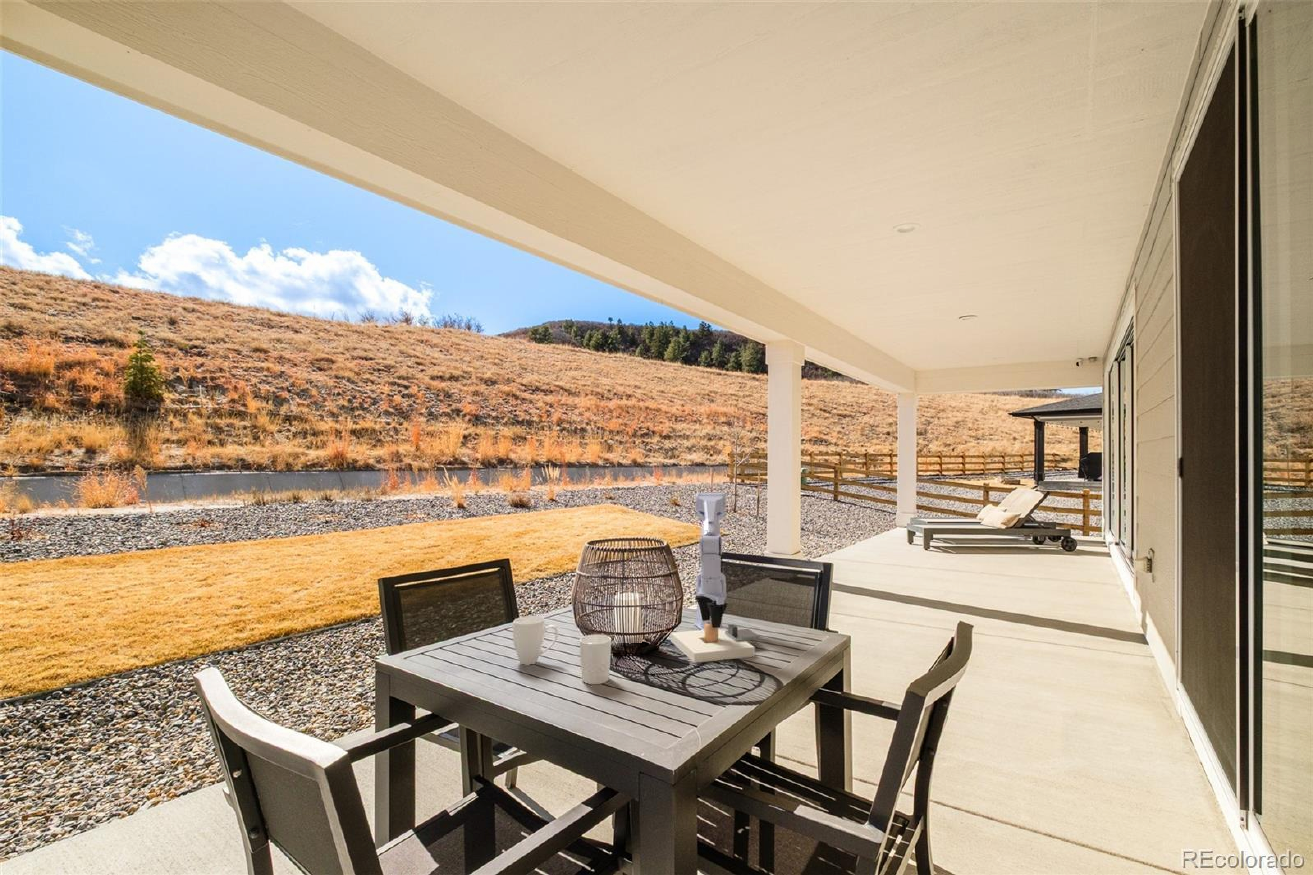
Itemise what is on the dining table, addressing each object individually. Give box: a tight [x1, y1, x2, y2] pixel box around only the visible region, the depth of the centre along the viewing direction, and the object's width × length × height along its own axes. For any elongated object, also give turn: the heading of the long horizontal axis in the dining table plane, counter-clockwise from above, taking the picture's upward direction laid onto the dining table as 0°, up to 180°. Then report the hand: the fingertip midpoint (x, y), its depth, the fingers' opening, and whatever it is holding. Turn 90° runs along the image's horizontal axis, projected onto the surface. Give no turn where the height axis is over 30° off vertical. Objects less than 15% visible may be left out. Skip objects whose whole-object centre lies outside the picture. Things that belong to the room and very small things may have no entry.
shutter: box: [725, 624, 761, 641], centre depth 175 cm, size 8×8×3 cm
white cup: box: [579, 634, 612, 685], centre depth 148 cm, size 8×8×10 cm
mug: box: [512, 615, 559, 666], centre depth 160 cm, size 12×8×11 cm
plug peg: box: [704, 619, 718, 643], centre depth 172 cm, size 4×4×8 cm
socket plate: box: [670, 627, 756, 664], centre depth 172 cm, size 20×18×2 cm
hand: (710, 623), depth 173 cm, fingers open, 7 cm apart
